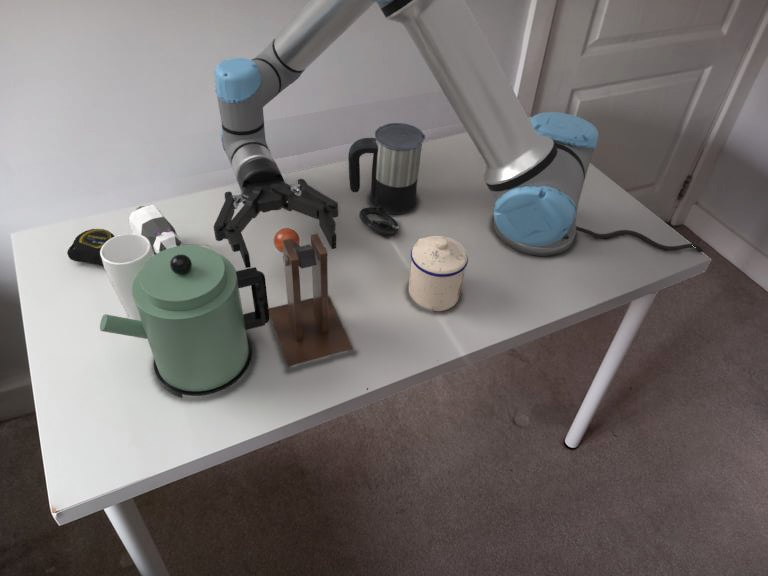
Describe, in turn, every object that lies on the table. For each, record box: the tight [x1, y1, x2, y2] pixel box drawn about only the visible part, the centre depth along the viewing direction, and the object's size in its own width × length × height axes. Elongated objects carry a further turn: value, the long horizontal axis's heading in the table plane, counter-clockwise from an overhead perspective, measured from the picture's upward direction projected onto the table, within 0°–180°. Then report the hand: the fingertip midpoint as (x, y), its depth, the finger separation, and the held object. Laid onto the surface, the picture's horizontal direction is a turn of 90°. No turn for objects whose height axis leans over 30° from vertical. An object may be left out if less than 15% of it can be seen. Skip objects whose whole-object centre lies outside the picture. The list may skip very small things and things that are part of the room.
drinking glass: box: [100, 232, 154, 321], centre depth 88 cm, size 7×7×15 cm
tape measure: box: [66, 228, 115, 267], centre depth 101 cm, size 7×7×4 cm
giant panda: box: [128, 204, 183, 255], centre depth 99 cm, size 15×6×10 cm, turn 38°
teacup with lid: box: [407, 235, 469, 312], centre depth 97 cm, size 12×9×12 cm
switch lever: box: [273, 227, 317, 269], centre depth 87 cm, size 15×4×4 cm, turn 22°
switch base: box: [269, 232, 353, 367], centre depth 87 cm, size 12×10×18 cm
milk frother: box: [347, 122, 427, 237], centre depth 111 cm, size 14×16×15 cm
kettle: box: [99, 244, 271, 399], centre depth 81 cm, size 22×14×20 cm, turn 112°
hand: (291, 251), depth 91 cm, fingers open, 13 cm apart
